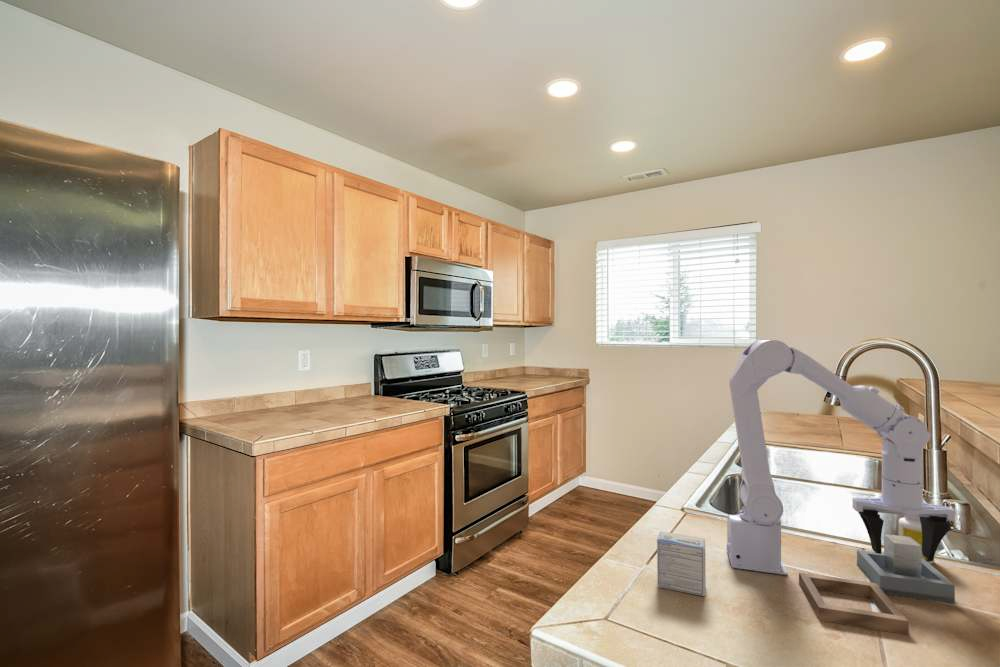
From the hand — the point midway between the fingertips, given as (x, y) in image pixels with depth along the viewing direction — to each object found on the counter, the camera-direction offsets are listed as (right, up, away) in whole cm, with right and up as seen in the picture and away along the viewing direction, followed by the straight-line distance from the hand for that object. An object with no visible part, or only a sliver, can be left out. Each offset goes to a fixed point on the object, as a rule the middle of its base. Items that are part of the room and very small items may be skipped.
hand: (901, 554), depth 87 cm
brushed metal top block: (0, -4, 0) cm, 4 cm away
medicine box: (-40, -6, -1) cm, 41 cm away
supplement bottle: (+11, -5, +9) cm, 15 cm away
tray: (0, -5, 0) cm, 5 cm away
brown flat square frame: (-15, -5, -7) cm, 18 cm away
